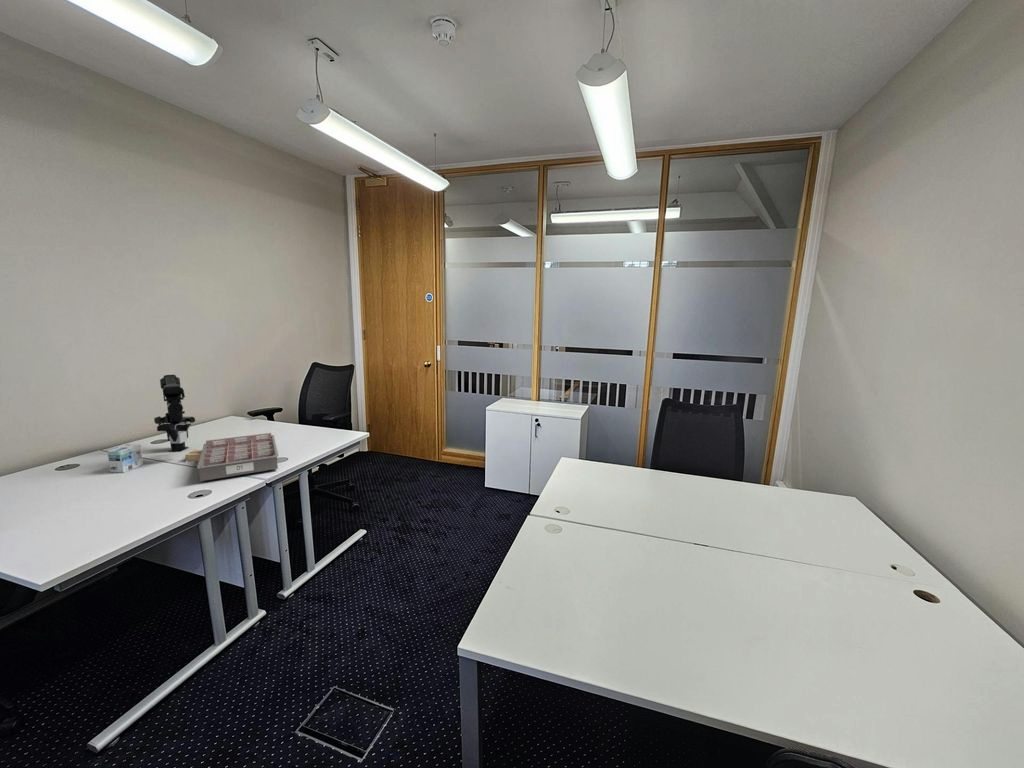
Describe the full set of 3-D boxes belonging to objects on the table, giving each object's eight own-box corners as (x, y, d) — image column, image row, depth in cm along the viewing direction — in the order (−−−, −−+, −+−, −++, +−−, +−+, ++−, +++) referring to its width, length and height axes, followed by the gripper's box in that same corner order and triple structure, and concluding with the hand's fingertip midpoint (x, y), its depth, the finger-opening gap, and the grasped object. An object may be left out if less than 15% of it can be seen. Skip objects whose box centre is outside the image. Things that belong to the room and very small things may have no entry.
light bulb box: (123, 473, 197) (120, 451, 195) (109, 472, 197) (106, 451, 195) (143, 464, 207) (140, 444, 206) (130, 464, 208) (127, 444, 206)
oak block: (195, 456, 220) (194, 449, 220) (211, 456, 222) (210, 449, 221) (185, 462, 213) (184, 454, 212) (202, 461, 214) (202, 454, 213)
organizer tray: (198, 485, 185) (195, 464, 184) (205, 458, 218) (203, 440, 217) (279, 471, 202) (278, 452, 201) (275, 448, 236) (273, 431, 234)
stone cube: (177, 440, 215) (176, 431, 214) (187, 440, 215) (186, 431, 214) (170, 443, 210) (168, 433, 209) (180, 443, 210) (179, 433, 209)
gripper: (172, 406, 218) (175, 434, 221) (143, 414, 200) (147, 445, 203) (194, 406, 219) (197, 434, 222) (167, 414, 201) (171, 445, 203)
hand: (178, 439), depth 212 cm, fingers closed on stone cube, 5 cm apart
